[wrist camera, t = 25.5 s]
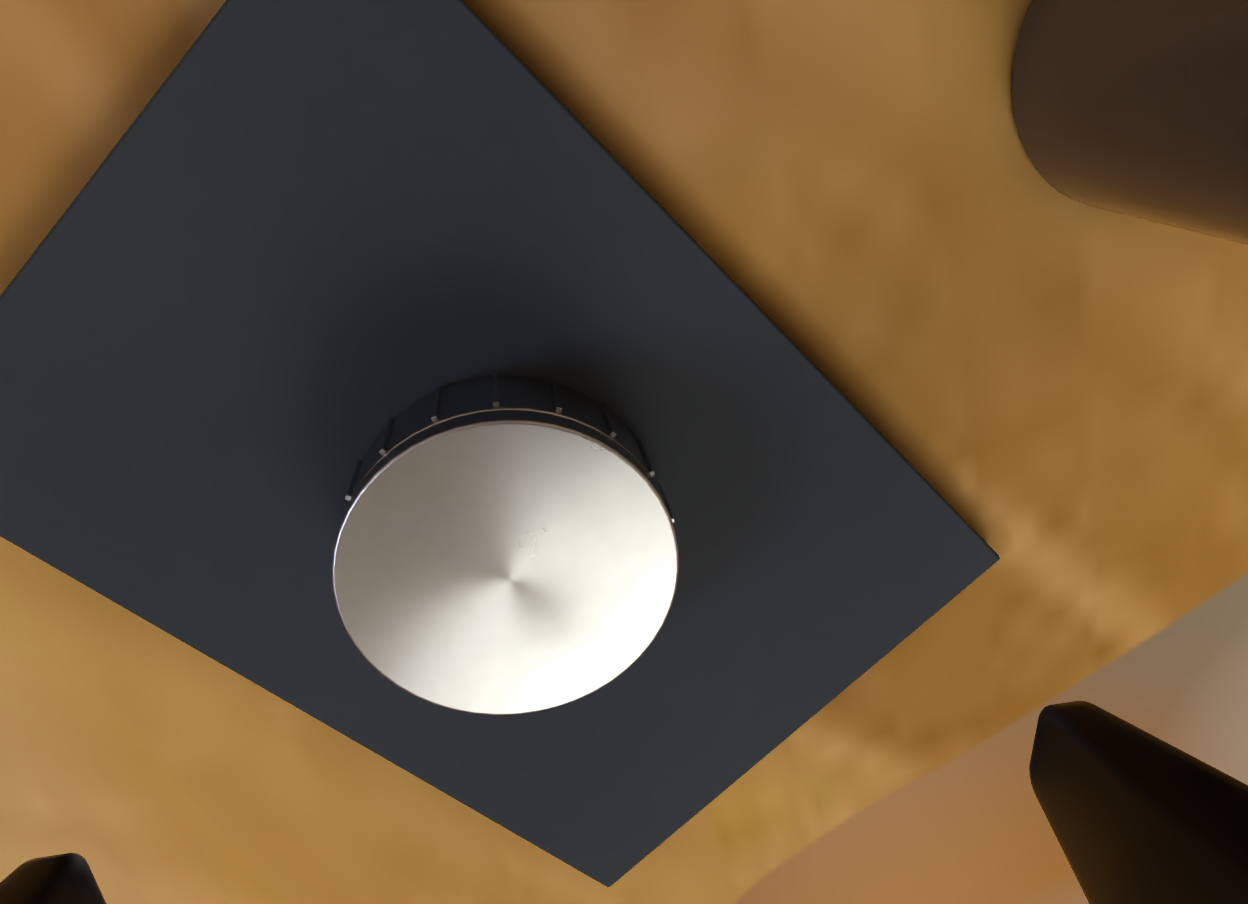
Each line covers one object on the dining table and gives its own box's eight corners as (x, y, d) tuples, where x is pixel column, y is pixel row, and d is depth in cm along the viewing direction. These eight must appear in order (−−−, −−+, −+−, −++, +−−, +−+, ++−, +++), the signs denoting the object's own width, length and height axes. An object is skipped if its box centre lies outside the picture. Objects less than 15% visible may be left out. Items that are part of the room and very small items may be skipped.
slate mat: (-110, 450, 17) (-129, 463, 17) (335, -130, 14) (330, -138, 14) (606, 871, 25) (608, 888, 24) (989, 546, 22) (1001, 558, 21)
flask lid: (635, 650, 21) (653, 721, 19) (342, 638, 20) (322, 713, 17) (686, 389, 18) (713, 435, 16) (351, 356, 17) (330, 401, 15)
